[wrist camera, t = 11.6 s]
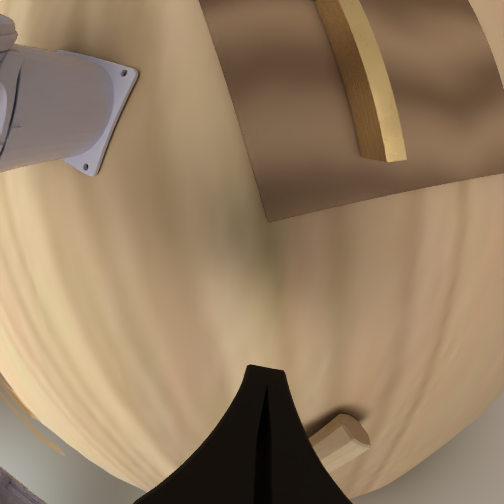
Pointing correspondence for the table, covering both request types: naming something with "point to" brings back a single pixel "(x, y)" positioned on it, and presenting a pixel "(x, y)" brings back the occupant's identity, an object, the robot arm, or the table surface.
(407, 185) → the walnut board
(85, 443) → the table surface
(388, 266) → the table surface
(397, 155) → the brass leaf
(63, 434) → the table surface
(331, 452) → the hammer
